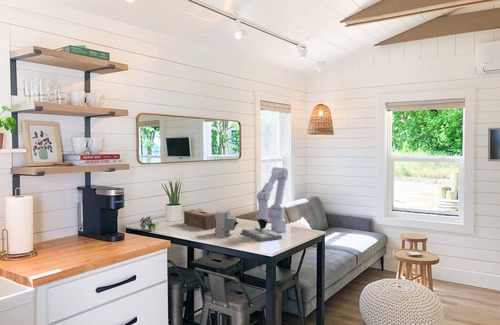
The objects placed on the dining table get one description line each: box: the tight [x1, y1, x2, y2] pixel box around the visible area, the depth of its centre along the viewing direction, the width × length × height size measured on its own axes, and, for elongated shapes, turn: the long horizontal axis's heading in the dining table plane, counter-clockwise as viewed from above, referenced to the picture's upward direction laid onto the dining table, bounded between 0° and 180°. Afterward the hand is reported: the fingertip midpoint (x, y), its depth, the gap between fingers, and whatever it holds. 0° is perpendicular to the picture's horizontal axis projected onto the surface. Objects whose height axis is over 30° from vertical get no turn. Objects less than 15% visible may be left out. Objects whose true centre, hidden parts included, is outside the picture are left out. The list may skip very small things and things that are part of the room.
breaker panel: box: [241, 226, 283, 243], centre depth 252 cm, size 16×24×3 cm, turn 30°
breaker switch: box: [262, 227, 270, 235], centre depth 247 cm, size 3×4×4 cm
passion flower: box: [139, 215, 159, 233], centre depth 263 cm, size 11×11×12 cm
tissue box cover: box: [183, 208, 216, 231], centre depth 280 cm, size 26×14×10 cm, turn 45°
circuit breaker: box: [214, 209, 239, 237], centre depth 255 cm, size 8×14×15 cm, turn 78°
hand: (262, 230), depth 250 cm, fingers closed
